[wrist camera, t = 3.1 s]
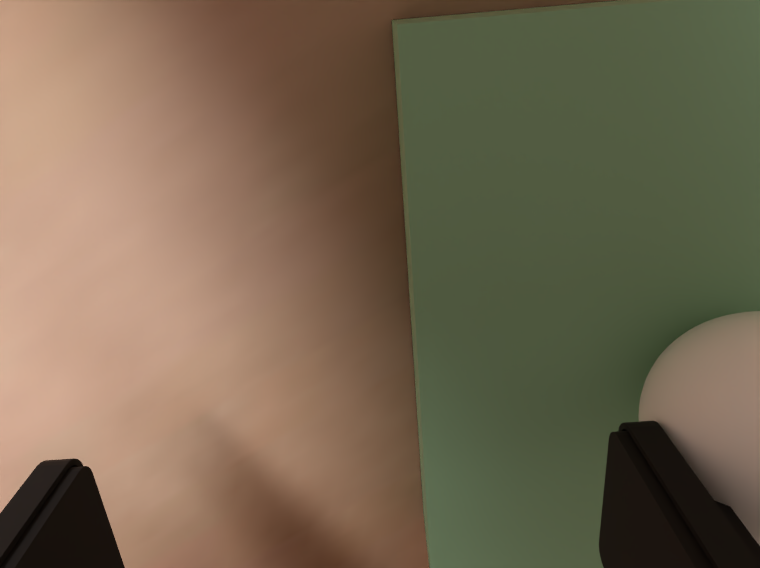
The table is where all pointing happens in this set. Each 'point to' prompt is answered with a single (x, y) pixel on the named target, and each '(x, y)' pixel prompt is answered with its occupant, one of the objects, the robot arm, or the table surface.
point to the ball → (714, 408)
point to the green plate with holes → (564, 246)
